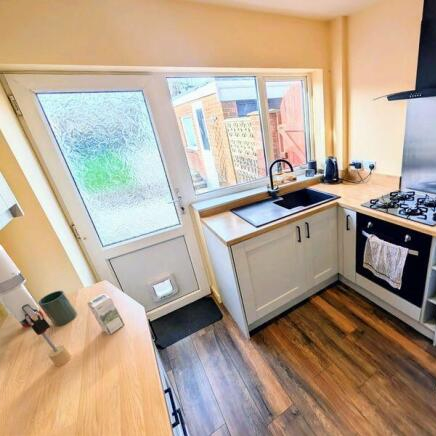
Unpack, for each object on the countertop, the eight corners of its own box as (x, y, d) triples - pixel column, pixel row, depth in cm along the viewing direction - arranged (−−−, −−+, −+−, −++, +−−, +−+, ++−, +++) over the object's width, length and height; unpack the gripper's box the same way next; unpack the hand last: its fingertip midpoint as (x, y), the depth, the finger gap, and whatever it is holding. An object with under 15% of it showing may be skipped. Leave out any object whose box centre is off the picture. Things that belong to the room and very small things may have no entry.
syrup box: (118, 319, 100) (103, 292, 94) (125, 324, 97) (110, 296, 91) (102, 330, 96) (86, 302, 90) (110, 336, 93) (93, 307, 87)
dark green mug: (58, 329, 99) (42, 307, 94) (50, 322, 103) (35, 301, 98) (80, 315, 105) (66, 293, 100) (72, 309, 109) (59, 288, 104)
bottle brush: (58, 368, 83) (25, 326, 74) (53, 363, 85) (20, 321, 76) (73, 357, 86) (43, 315, 78) (68, 352, 88) (38, 311, 80)
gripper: (-21, 283, 72) (14, 325, 80) (-5, 300, 64) (32, 345, 71) (14, 269, 78) (43, 309, 85) (32, 282, 70) (63, 325, 77)
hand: (38, 325), depth 78 cm, fingers open, 9 cm apart
